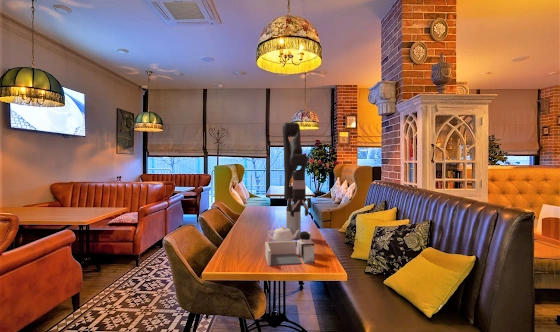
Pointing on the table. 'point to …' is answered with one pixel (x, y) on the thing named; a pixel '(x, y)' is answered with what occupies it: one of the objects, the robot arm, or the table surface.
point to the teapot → (282, 234)
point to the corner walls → (279, 249)
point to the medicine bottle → (304, 242)
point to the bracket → (308, 254)
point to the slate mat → (284, 259)
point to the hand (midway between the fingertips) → (299, 216)
